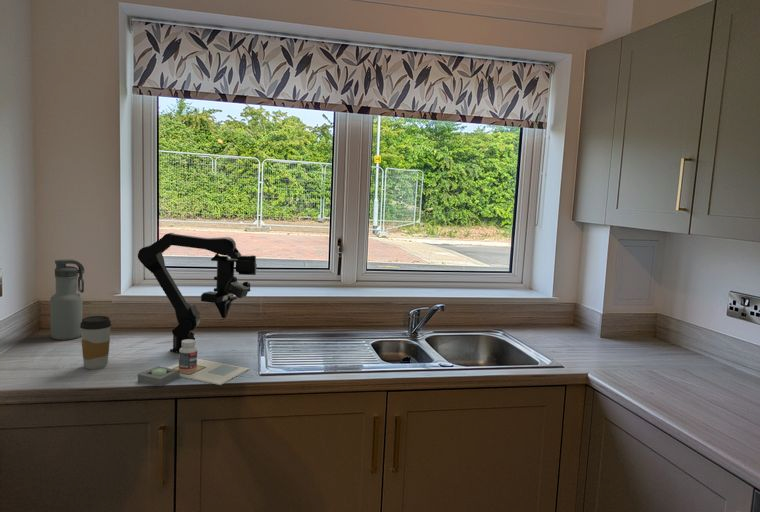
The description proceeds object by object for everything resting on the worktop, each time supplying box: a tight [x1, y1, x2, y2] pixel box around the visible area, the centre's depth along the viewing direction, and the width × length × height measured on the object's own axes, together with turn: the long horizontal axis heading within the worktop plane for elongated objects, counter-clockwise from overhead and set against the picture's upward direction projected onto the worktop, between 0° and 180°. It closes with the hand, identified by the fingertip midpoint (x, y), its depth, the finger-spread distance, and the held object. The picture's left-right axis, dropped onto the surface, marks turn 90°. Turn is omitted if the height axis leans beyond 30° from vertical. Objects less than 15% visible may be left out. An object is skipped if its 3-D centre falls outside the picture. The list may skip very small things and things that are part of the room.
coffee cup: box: [80, 315, 112, 370], centre depth 155 cm, size 8×8×15 cm
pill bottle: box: [178, 339, 198, 371], centre depth 157 cm, size 5×5×9 cm
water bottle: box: [49, 258, 85, 341], centre depth 181 cm, size 10×10×28 cm
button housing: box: [137, 365, 181, 387], centre depth 148 cm, size 8×8×2 cm
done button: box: [152, 368, 167, 376], centre depth 148 cm, size 4×4×2 cm
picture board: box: [167, 358, 250, 386], centre depth 157 cm, size 22×15×1 cm
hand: (224, 318), depth 176 cm, fingers closed
